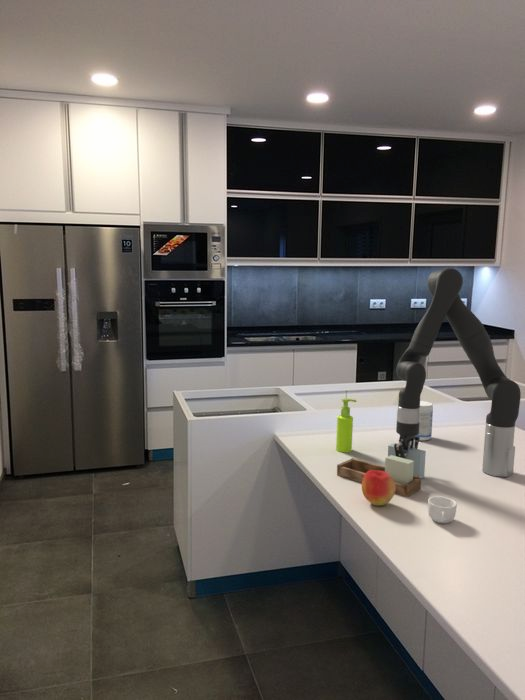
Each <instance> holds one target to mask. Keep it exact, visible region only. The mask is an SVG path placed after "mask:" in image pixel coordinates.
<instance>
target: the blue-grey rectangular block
mask: <svg viewBox="0 0 525 700" xmlns="http://www.w3.org/2000/svg"><path fill="white" fill-rule="evenodd" d="M394 444H395V443H391V444H389V445H388V446H387V447H388V448H387V457H388V456H390V455H393V456H396V454H395V448H394ZM403 451H406V450H404V449H403ZM426 454H427V453H426V450H424V449H419V448H417V449H415V448H410V450H409V453H408V454H407V459H408V460H412V461H414V469H413V475H416V476H419V478H421V479H423V478H425V472H426ZM404 455H405V454H404Z"/></svg>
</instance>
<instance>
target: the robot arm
mask: <svg viewBox="0 0 525 700" xmlns="http://www.w3.org/2000/svg"><path fill="white" fill-rule="evenodd" d="M429 274H430V275H428V279H427V288H428V291H429V292H430V294H431V295H432V300H431V303H430V305H429V307H428V309H427V310H426V312H425V313H424V315H423V317H421V319H420V321H419V323H418V325H417V326H416V328H415V329H414V332H413V335H412V338H411V339H410V342H409V346H408V347H407V349H405V351H404V353H403V354H402V356H401V357H400V358H399V360H398V362H397V364H396V369H395V373H396V376H397V378H399V379H400V380H401V381H405V382H406V383H405V387H404V388H402V389H400V390H399V391H398V403H397V405H398V406H397V411H396V428H395V432H396V433H397V434H398V435H399V439H398V443H395V444H394V448H395V454H396V456H397V457H400V458H404V459H407V454H408V453H409V450H410V448H415V449H419V448H418V447H419V442H420V440H419V439H420V438H419V437H416V435H418V434H419V427H420V401H421V395H422V392H423V389H424V386H425V382H426V380H427V379H426V378H427V372H426V368H425V366H424V365H423V364H422V363H420V360H421V359H422V358H426V357H428V356H429V354H430V353H431V351H432V350H433V349H432V348H433V345H434V343H435V341H436V338H437V337H438V333H439V331H440V329H441V326H442V324H443V322H444V320H445V318H446V319H447V321H448V323H449V325H450V327H451V329H452V330H453V332H454V334H455V336H456V338H457V341H458V342H459V344H460V347H462V349H463V351H464V352H465V354H466V357H468V360H469V361H470V363H471V364H472V366H473V367H474V369H475V370H476V372H477V374H478V377H479V379H480V382H481V384H482V386H483V387H482V388H483V390H484V391H485V394H486V396H487V397H488V399H489V400H491V404H490V405H491V407H490V411H489V413H487V414H486V417H485V428H484V441H483V442H484V443H483V455H482V469H481V470H482V472H483V473H485V474H487V475H490V476H494V477H500V478H501V477H502V478H509V477H510V476H511V475H512V474H514V466H515V456H516V455H515V454H516V446H514V442H515V431H516V430H515V429H516V421H517V420H518V417H519V413H520V406H521V398H522V397H521V395H522V394H521V393H522V392H521V388H520V386H519V384H518V383H517V382H515V381H514V380H512V379H510V378H508V377H507V376H506V375H505V373H504V372H503V370H502V368H501V367H500V366H499V364H498V363H499V362H497V359H496V357H495V352H494V347H493V343H492V340H491V337H490V336H489V334H488V332H487V330H486V328H485V326H484V324H483V323H482V322H481V320H480V319H479V318H478V316H476V314H474V312H473V311H472V310H471V309H469V308H468V306H466V304H465V303H464V302H463V300H462V298H461V296H460V294H459V292H460V291H461V289H462V288H463V287H462V286H463V285H464V280H463V275H462V273H461V272H460V271H459V270H458V269H456V268H451V267H450V268H449V267H448V268H442V269H438V270H434V271H432V272H431V273H429ZM403 449H404V450H406V451H403ZM404 454H405V455H404Z"/></svg>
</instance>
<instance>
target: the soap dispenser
mask: <svg viewBox="0 0 525 700" xmlns="http://www.w3.org/2000/svg"><path fill="white" fill-rule="evenodd" d="M341 401H342V402H343V406H342V407H341V408H340V415H337V418H336V419H337V420H336V422H337V423H336V444H335V445H336V448H335V451H337V452H339V453H351V452H352V449H353V446H352V445H353V429H354V426H353V424H354V417H353V415H350V414H351V412H350V411H351V408H350V407H349V402H353V403H357V399H354V398H341Z"/></svg>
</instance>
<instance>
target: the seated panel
mask: <svg viewBox="0 0 525 700" xmlns="http://www.w3.org/2000/svg"><path fill="white" fill-rule="evenodd" d="M384 460H385V461H384V467H385V472H386V473H388V474H389V475H390V476H391V477H392V479H393V480H394V482H397V483H400V484H404V485H405V484H407V483H409V482H411V481H413V469H414V461H412V460H408V459H404V458H400V457H397V456H393V455H390V456H388V455H387V456H386V457H385V459H384Z"/></svg>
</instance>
